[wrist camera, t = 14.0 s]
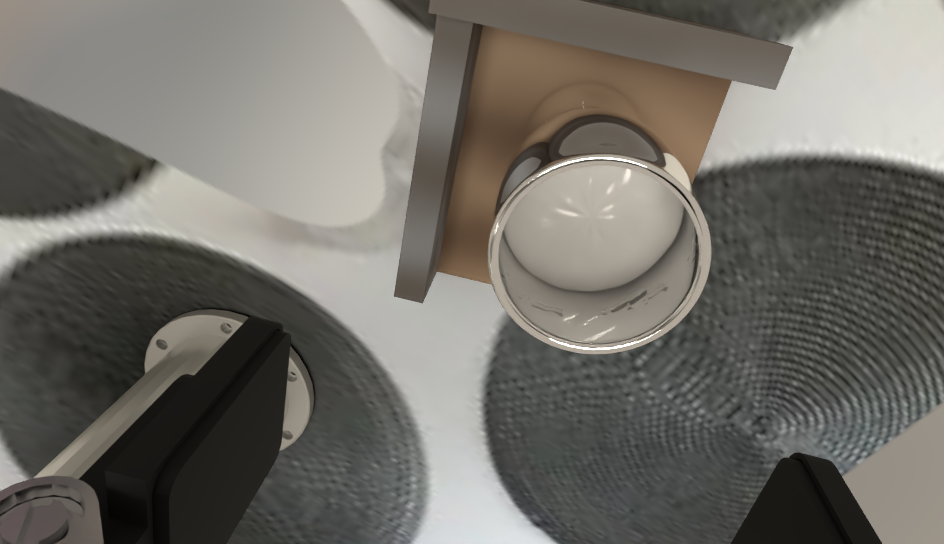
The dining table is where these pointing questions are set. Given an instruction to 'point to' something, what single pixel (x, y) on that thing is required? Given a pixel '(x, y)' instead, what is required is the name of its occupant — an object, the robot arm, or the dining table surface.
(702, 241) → the beer glass
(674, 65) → the wooden corner tray
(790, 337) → the dining table surface
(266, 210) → the dining table surface
